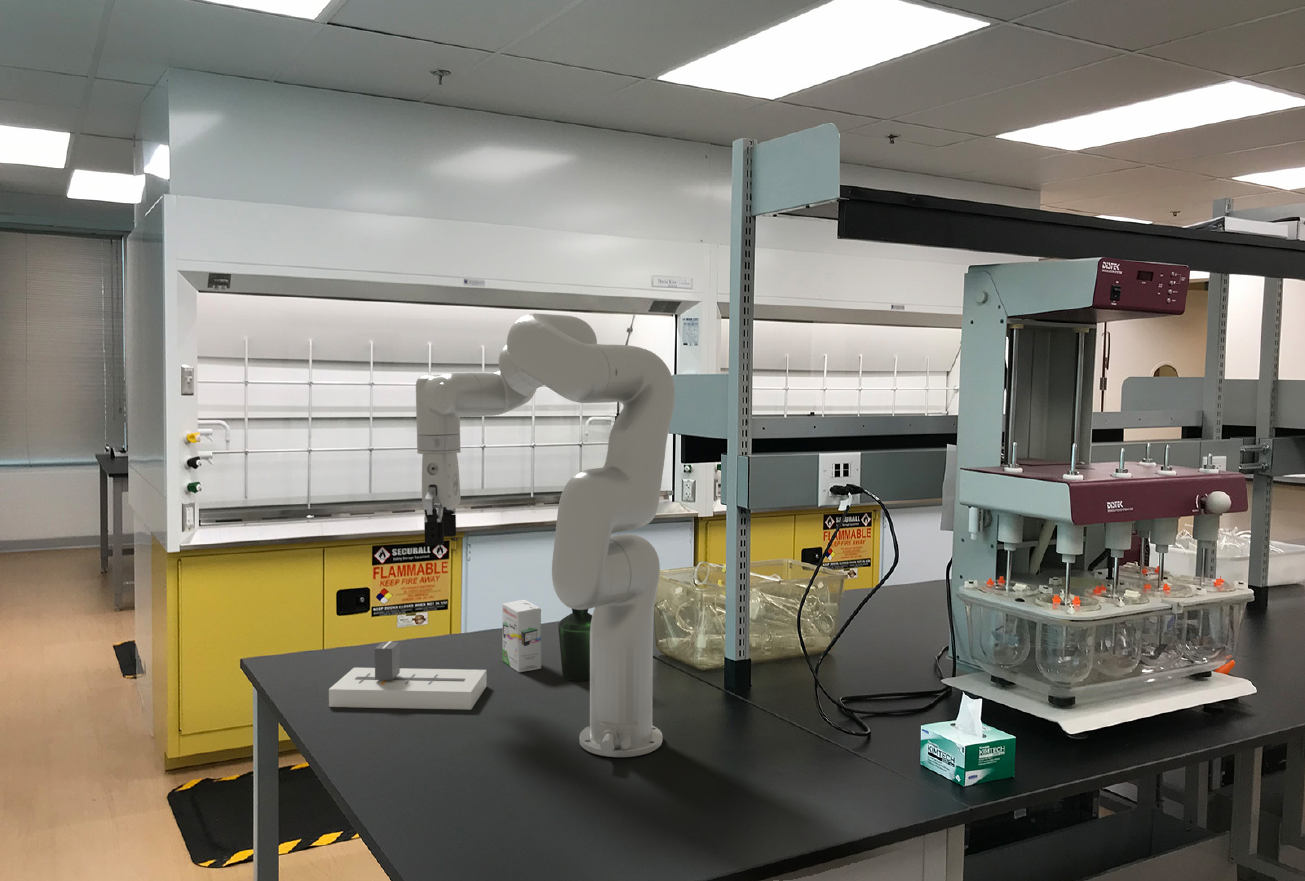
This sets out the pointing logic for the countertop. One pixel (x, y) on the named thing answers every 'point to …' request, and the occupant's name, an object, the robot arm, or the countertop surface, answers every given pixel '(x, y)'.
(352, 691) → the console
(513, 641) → the ink box
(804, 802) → the countertop surface
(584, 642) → the potion bottle
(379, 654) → the fader knob
